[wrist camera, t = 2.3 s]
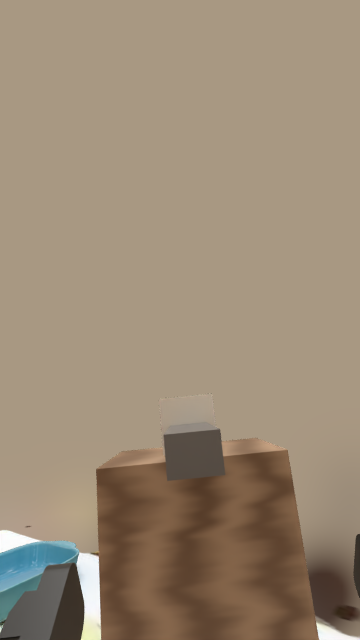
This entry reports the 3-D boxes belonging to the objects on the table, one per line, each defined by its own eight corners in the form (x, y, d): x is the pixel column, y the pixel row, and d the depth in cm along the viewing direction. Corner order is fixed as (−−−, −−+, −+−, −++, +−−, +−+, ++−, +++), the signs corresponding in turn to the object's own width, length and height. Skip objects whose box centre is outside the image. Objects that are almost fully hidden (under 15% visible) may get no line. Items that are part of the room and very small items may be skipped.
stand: (300, 743, 38) (256, 437, 46) (367, 931, 24) (287, 449, 32) (136, 762, 37) (121, 451, 45) (111, 964, 24) (96, 469, 32)
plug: (214, 445, 42) (208, 395, 43) (240, 473, 23) (228, 384, 25) (165, 450, 42) (161, 399, 43) (152, 482, 23) (146, 392, 25)
